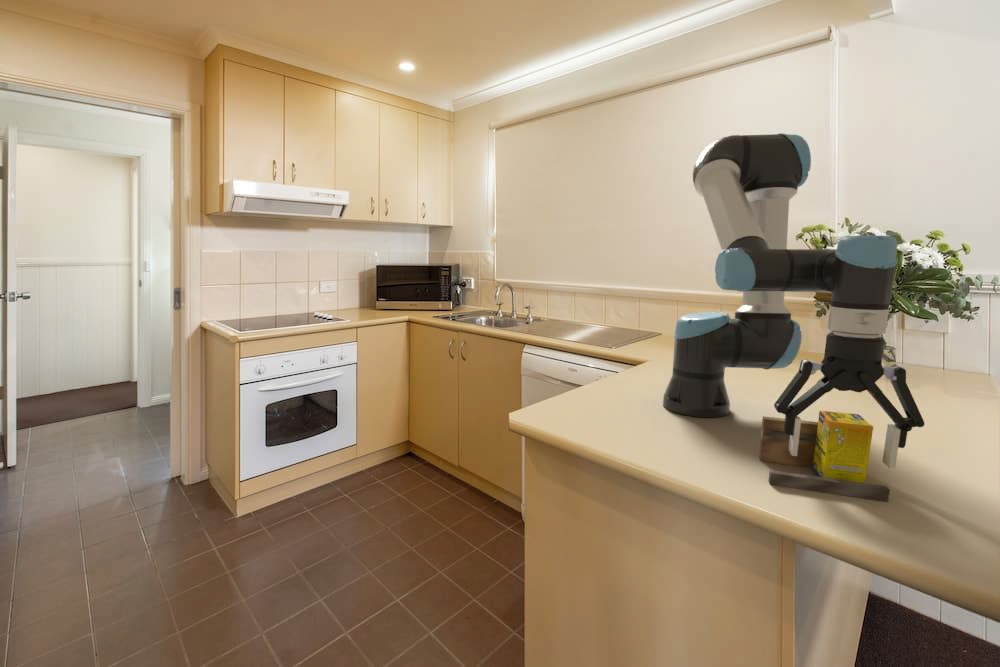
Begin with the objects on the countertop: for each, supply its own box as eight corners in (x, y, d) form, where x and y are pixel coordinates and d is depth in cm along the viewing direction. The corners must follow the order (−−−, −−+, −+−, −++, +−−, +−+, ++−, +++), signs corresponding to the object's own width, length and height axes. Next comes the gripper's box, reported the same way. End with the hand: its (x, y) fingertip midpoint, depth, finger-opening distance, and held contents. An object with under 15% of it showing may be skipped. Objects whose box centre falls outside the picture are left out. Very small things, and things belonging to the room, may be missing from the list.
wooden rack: (769, 484, 78) (774, 438, 77) (758, 457, 89) (762, 416, 87) (887, 501, 73) (895, 452, 72) (861, 471, 83) (867, 427, 82)
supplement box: (811, 469, 84) (818, 409, 82) (851, 474, 82) (859, 413, 80) (821, 484, 78) (829, 421, 77) (865, 490, 76) (874, 425, 75)
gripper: (771, 332, 77) (759, 456, 80) (967, 343, 69) (944, 481, 72) (763, 326, 84) (752, 440, 87) (940, 335, 76) (920, 461, 79)
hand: (839, 459), depth 80 cm, fingers open, 13 cm apart
